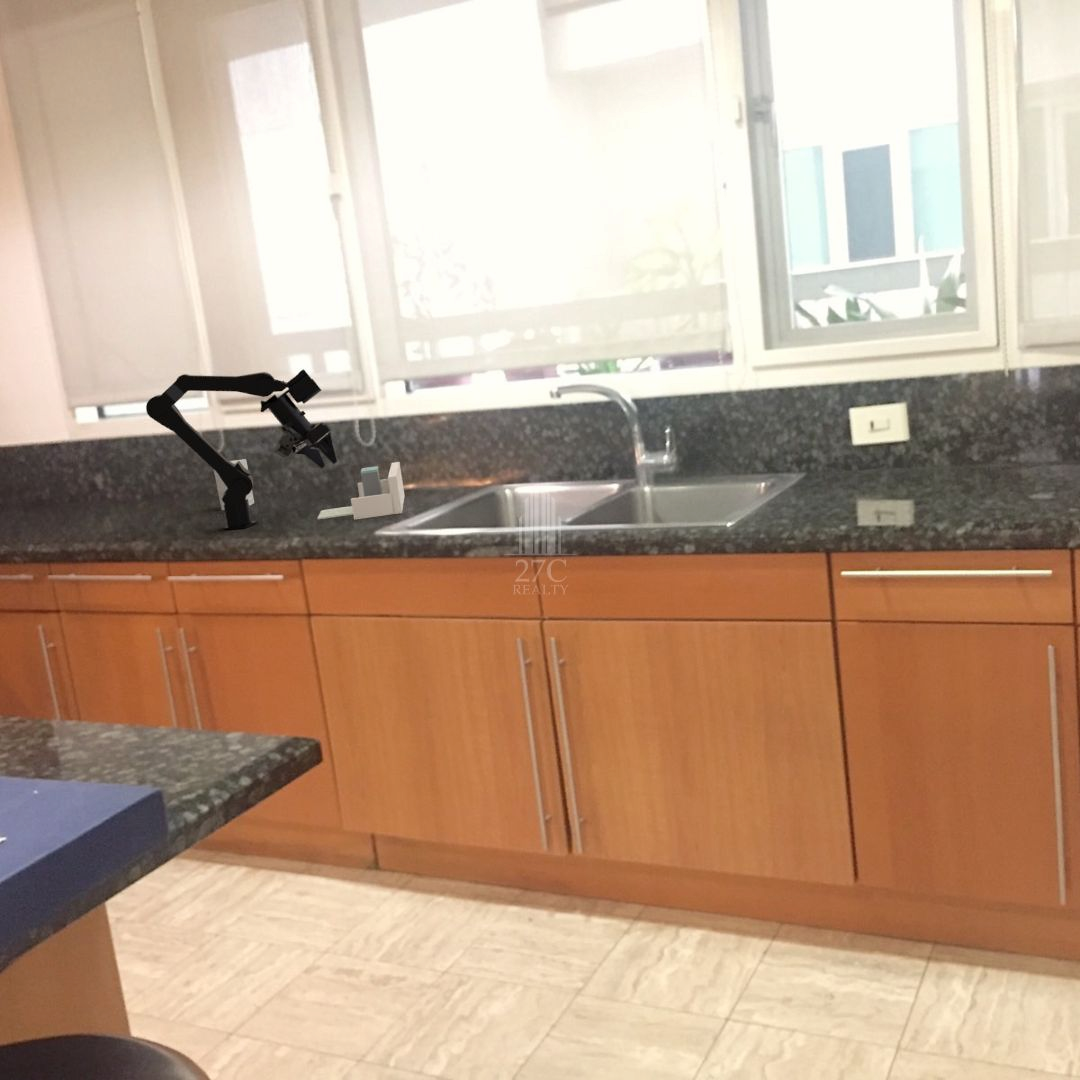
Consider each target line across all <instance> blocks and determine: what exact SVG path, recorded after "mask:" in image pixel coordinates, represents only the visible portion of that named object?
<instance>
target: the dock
mask: <svg viewBox="0 0 1080 1080" xmlns="http://www.w3.org/2000/svg"><path fill="white" fill-rule="evenodd" d="M380 483H381V489H382V494H380V495H373V496H366V497H365V496H364V490H363V484H362V481H361V482H358V483H357V489H358V497H352V498H350V503H351V506H352V510H353V520H362V519H368V518H377V517H383V516H389V515H397V514H403V508H404V503H405V490H404V482H403V476H402V470H401V463H400V461H395V462H391V464H390V468H389V472H388V476H387V478H384V479H380Z"/></svg>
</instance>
